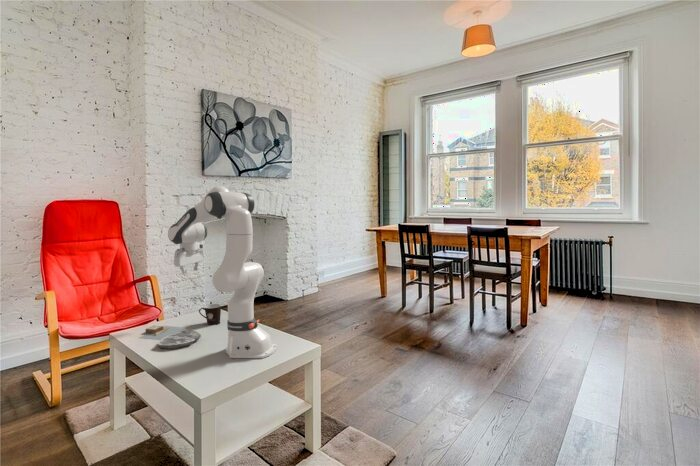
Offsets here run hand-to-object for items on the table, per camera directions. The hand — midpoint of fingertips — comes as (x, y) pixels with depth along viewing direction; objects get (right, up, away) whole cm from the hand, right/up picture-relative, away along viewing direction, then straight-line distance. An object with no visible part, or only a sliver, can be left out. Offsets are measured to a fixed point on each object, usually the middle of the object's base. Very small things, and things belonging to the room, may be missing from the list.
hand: (190, 272), depth 199 cm
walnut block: (-12, -29, -10) cm, 32 cm away
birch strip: (-10, -30, -10) cm, 33 cm away
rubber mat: (-9, -30, -10) cm, 33 cm away
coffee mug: (+10, -29, +4) cm, 31 cm away
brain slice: (+6, -32, -23) cm, 40 cm away
